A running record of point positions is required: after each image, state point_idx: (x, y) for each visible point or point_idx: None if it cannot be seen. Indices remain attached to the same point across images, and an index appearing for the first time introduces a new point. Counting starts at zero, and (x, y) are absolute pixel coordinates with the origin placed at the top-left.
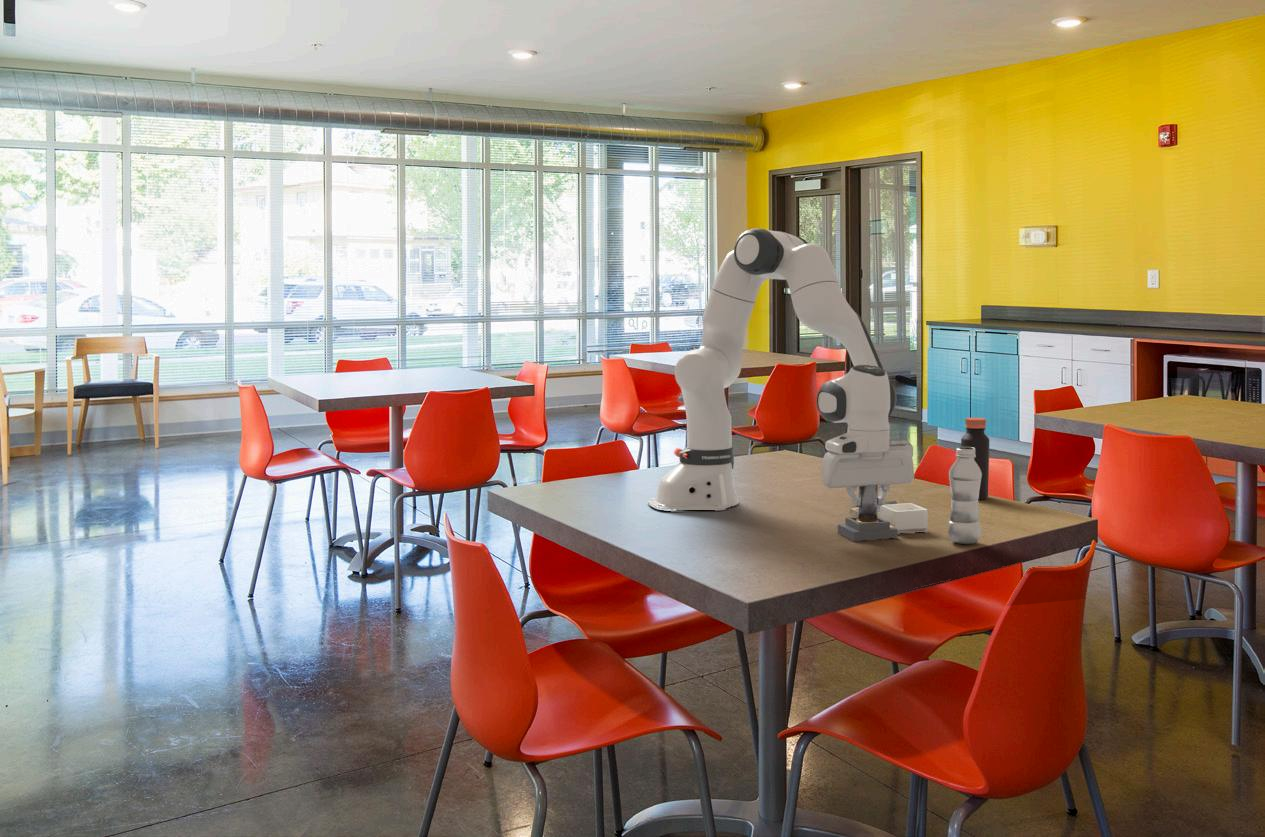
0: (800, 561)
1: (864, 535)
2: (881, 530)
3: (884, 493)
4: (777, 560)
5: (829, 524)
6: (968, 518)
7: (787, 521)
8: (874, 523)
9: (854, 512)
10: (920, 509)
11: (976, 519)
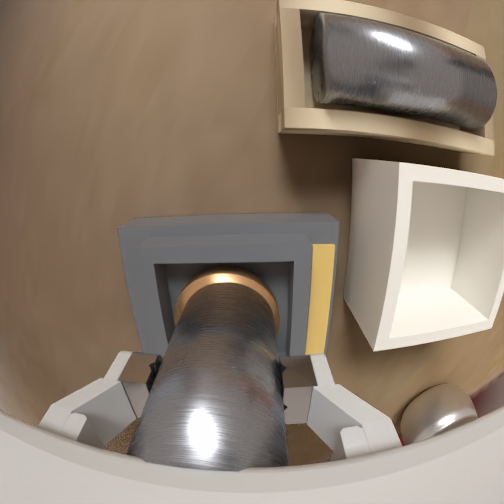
0: (42, 414)
1: None
2: None
3: (330, 443)
4: (12, 392)
5: (161, 52)
6: None
7: (55, 12)
8: None
9: (280, 40)
10: (493, 288)
11: None
